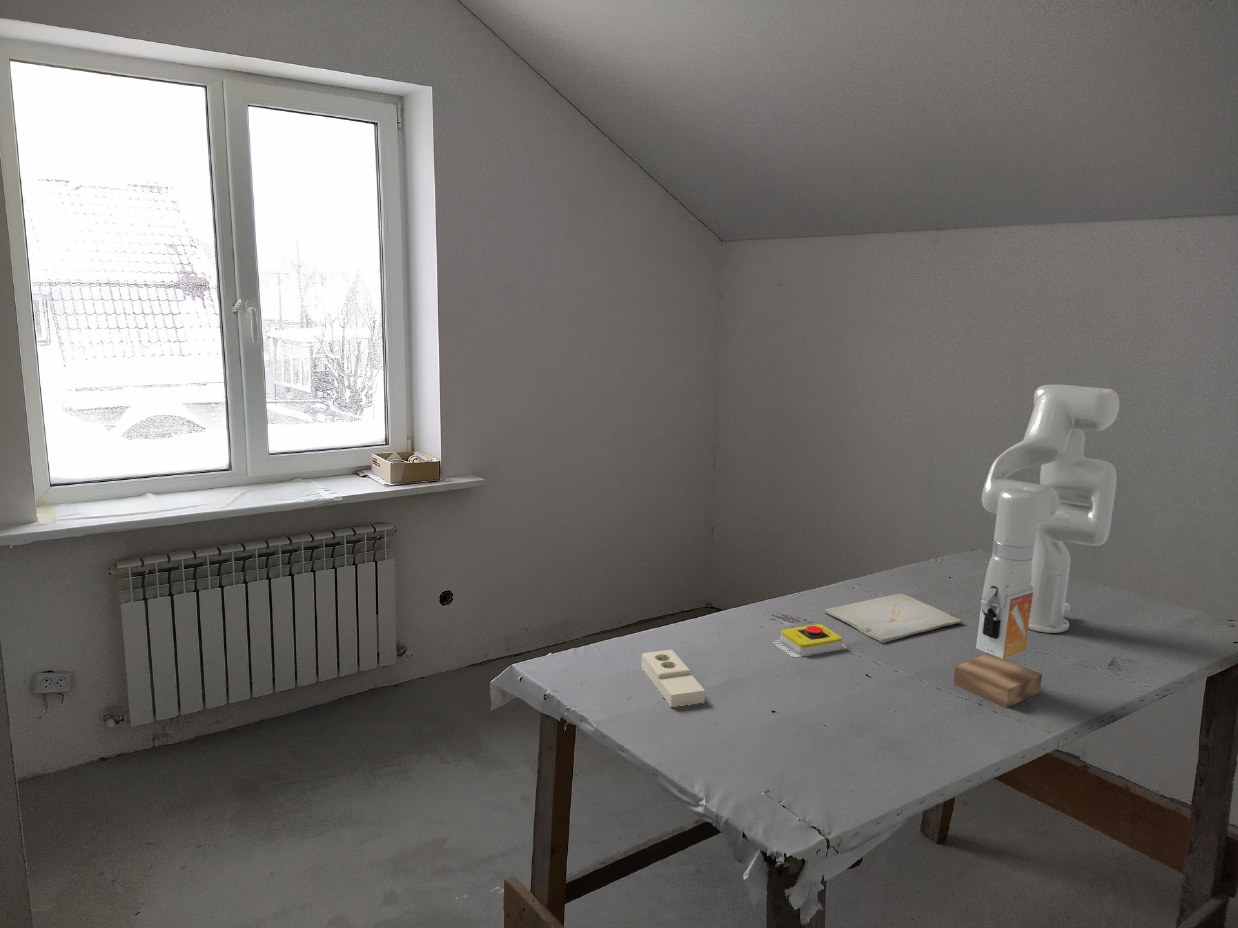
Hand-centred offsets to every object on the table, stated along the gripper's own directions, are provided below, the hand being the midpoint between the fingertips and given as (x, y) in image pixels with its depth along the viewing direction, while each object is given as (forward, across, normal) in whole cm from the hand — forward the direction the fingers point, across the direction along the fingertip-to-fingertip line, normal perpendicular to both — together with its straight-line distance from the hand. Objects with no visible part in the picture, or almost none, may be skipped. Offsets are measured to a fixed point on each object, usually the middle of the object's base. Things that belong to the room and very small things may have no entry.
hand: (1003, 631), depth 177 cm
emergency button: (+13, +17, -36) cm, 42 cm away
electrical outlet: (+13, +56, -38) cm, 69 cm away
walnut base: (+13, 0, 0) cm, 13 cm away
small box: (+4, 0, 0) cm, 4 cm away
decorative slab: (+13, -12, -36) cm, 40 cm away
